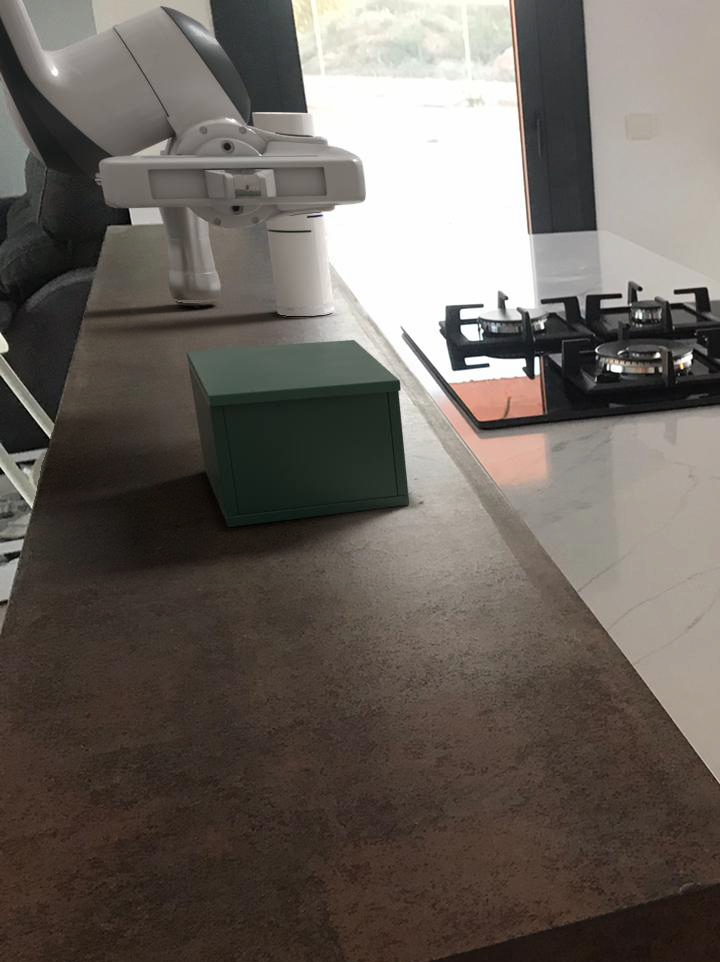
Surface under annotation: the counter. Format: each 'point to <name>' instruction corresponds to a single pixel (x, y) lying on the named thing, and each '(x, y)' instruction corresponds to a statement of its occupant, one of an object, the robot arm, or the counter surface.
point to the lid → (288, 372)
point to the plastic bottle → (189, 256)
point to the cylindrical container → (297, 237)
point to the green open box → (303, 456)
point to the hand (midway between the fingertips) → (247, 187)
